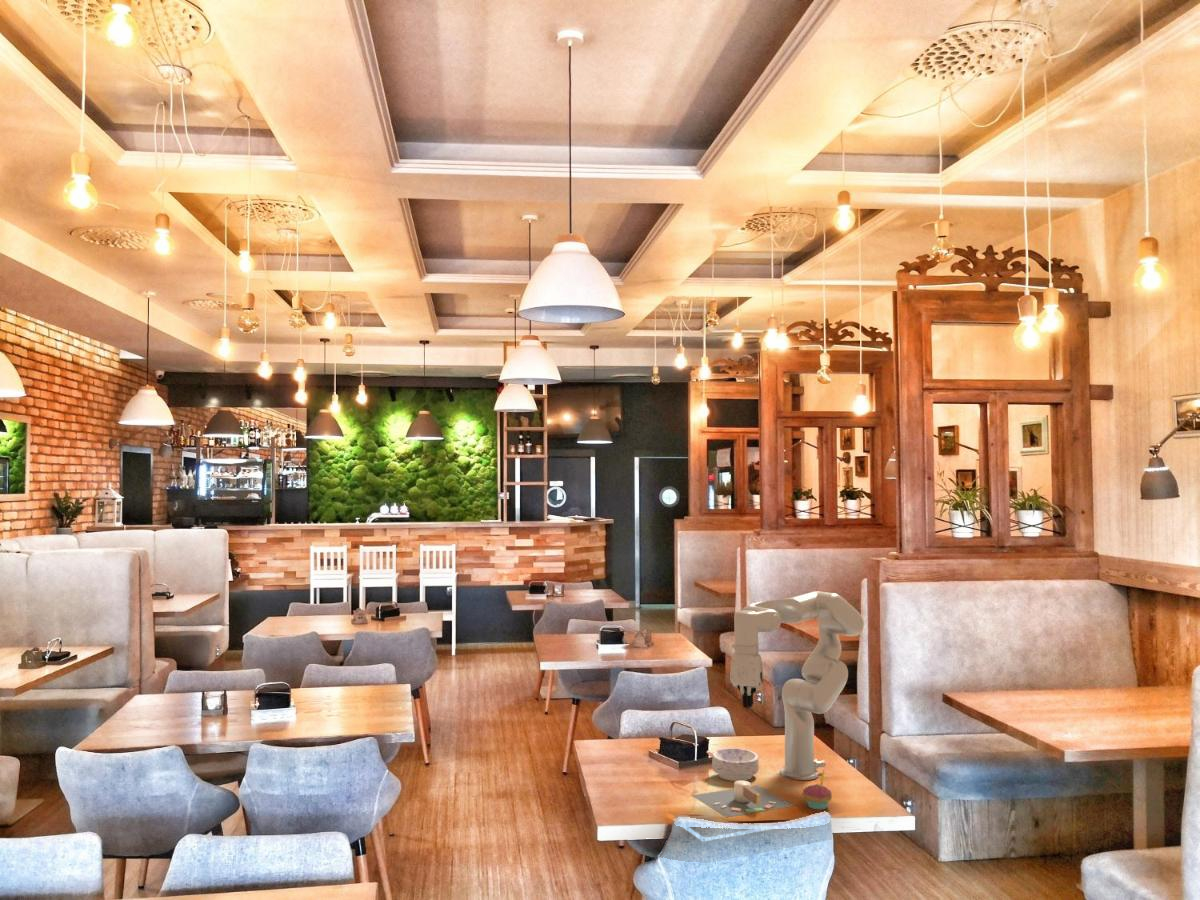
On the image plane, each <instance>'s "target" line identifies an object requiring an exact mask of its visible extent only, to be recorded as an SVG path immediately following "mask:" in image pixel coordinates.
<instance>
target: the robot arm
mask: <svg viewBox="0 0 1200 900" xmlns="http://www.w3.org/2000/svg"><path fill="white" fill-rule="evenodd" d="M815 618H817V626H818V636H819V637H818V641H817V644H816V646H815V647H814V648H813V650H812V651H811V653H810V654H809V656H807V659H806V660H805V662H804V664H803V665H802V667H801V676H802V677H803V678H804V679H802V678H790V679H788V680H787V681H785V683H784V684H783V685H782V689H781V696H782V699H781V700H782V705H783V708H784V766H782V767H780V769H779V773H780V775H781V776H783V777H785V778H787V779H789V780H790V779H791V780H797V781H810V780H814V779H817V778H819V771H818V770H817V769H818V768H825V767H826V761H825V760H819V761H818V759H815V756H814V755H815V720H814V717H813V714H818V715H821V714H825V713H827V712H828V711H829V710H830V709H831V708H832V706H833V705H834V703H835V702H836V700H837V699H838V697H839V695H840V694H841V693H842V691H843V689H844V688H845V686H846V684H847V682H848V678H849V670H848V667H847V665H846V663H844V662H843V661H842V660H839V659H840V657H841V654H842V651H843V650H842V644H841V640H840V635H842V636H847V637H856V636H858V635H860V634H861V633H862V631H863V629H864V626H865V623H864V619H863V616H862V614H861V613H860V612H859V611H858V610H857V609H856V608H855V607H854V606H853V605H852V604H850V603H849V602H848V601H847V600H846V599H845V598H844V597H843V596H841V595H839V594H838V593H834V592H828V591H827V592H826V591H818V590H816V591H814V590H813V591H810V592H806V593H802V594H799V595H795V596H791V597H785V598H779V599H770V600H763V601H758V602H754V603H752V604H751V603H750V604H748V605H746V606H745V607H743V608H742V610H737V611H736V612H735V613H734V616H733V619H734V620H733V621H734V622H733V623H734V625H733V627H734V643H732V644H731V648H732V649H734V652H733V653H732V655H731V658H730V659H731V661H730V668H729V669H730V671H729V674H730V675H729V681H730V683H731V685H732V687H734V688H737V689H738V690H739V692H740V695H741V697H742V699H741V700H742V701H741V702H742V706H743V707H742V708H746V709H749V708H752V707H753V705H754V694H755V693H756V692H759V691H762V690H764V686H763V684H764V677H765V676H764V668H763V667H764V666H763V660H762V657H761V656H762V655H761V654H760V653H759V633H773V632H775V631H777V630H778V629H779V628H780V626H781V624H798V623H802V622H805V621H807V620H811V619H815ZM812 713H813V714H812Z"/></svg>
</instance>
